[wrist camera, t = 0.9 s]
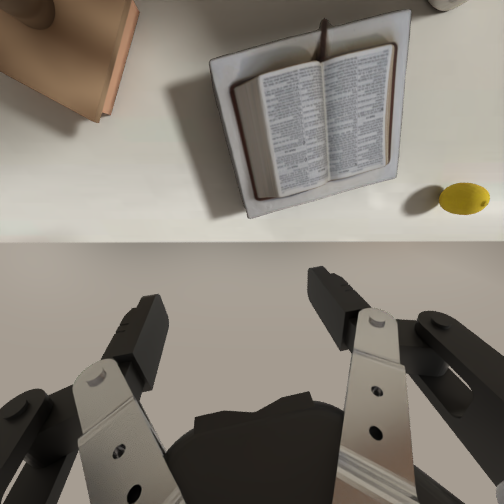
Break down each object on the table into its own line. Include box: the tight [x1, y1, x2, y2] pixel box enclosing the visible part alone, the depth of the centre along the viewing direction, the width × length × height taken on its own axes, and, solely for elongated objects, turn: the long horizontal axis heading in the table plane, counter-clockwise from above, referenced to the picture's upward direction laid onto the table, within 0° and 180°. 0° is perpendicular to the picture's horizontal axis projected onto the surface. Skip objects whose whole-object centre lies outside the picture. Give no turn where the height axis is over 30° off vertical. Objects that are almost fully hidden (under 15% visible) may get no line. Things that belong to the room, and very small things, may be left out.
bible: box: [209, 9, 411, 219], centre depth 29 cm, size 23×27×10 cm
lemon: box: [439, 183, 490, 215], centre depth 39 cm, size 6×6×8 cm
